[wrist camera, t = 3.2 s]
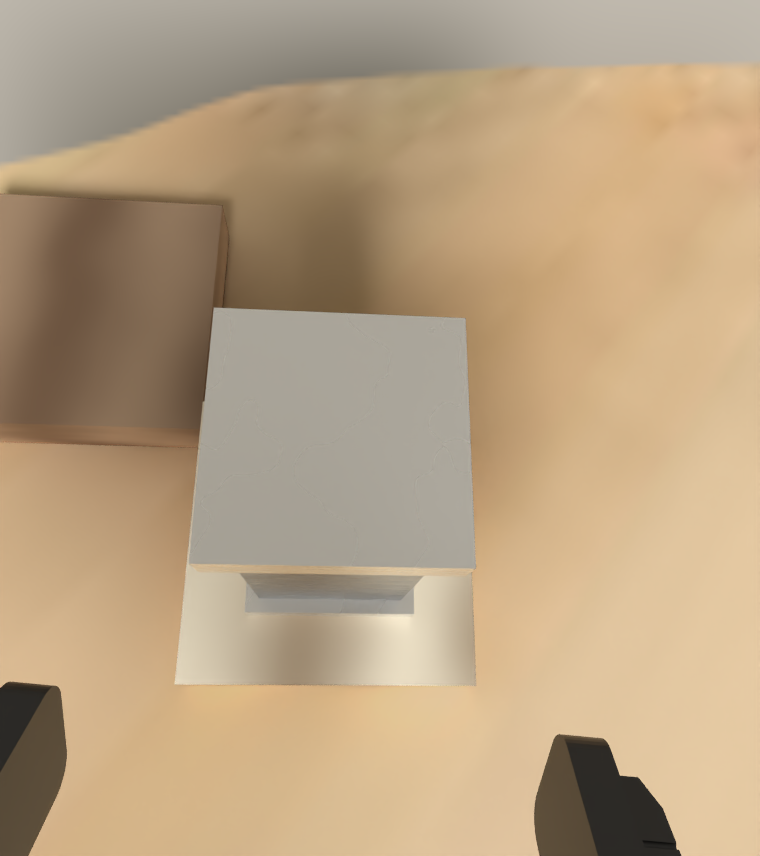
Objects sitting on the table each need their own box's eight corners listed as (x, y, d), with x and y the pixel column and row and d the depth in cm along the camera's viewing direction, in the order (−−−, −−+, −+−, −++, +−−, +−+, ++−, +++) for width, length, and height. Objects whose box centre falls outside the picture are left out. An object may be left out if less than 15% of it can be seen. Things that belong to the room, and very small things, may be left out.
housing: (408, 463, 23) (465, 317, 14) (410, 617, 22) (476, 568, 12) (258, 459, 23) (213, 307, 14) (247, 615, 21) (188, 563, 12)
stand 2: (455, 429, 26) (465, 409, 24) (463, 685, 23) (476, 685, 21) (211, 421, 25) (202, 401, 24) (187, 684, 22) (174, 684, 21)
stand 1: (229, 236, 28) (222, 205, 26) (209, 447, 25) (200, 429, 23) (-1, 225, 28) (-25, 192, 26) (-51, 440, 24) (-81, 420, 23)
